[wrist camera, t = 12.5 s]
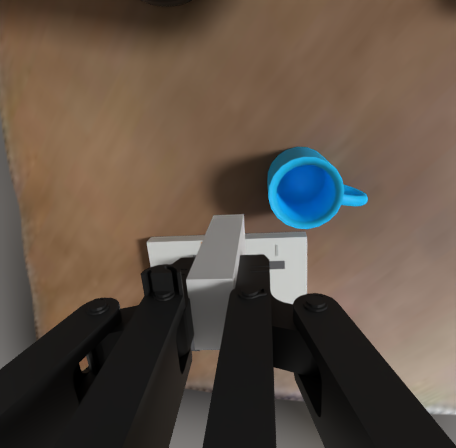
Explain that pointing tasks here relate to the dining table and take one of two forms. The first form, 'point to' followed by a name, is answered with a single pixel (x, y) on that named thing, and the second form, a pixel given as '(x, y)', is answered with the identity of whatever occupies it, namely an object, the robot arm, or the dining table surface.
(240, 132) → the dining table surface
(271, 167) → the mug
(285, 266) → the console
